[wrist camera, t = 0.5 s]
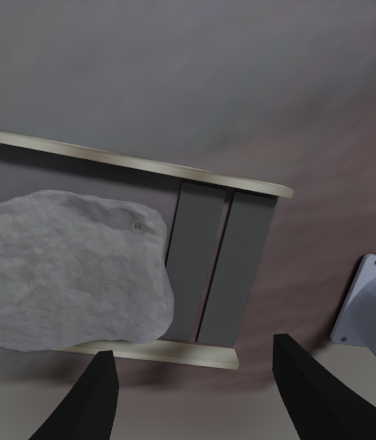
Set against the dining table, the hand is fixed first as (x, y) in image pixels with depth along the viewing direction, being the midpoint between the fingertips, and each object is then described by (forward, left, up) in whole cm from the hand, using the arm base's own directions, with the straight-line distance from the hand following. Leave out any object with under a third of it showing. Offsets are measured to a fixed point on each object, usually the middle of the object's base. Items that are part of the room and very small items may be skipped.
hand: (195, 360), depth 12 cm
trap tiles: (-2, 0, -9) cm, 9 cm away
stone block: (+7, 0, -9) cm, 11 cm away
